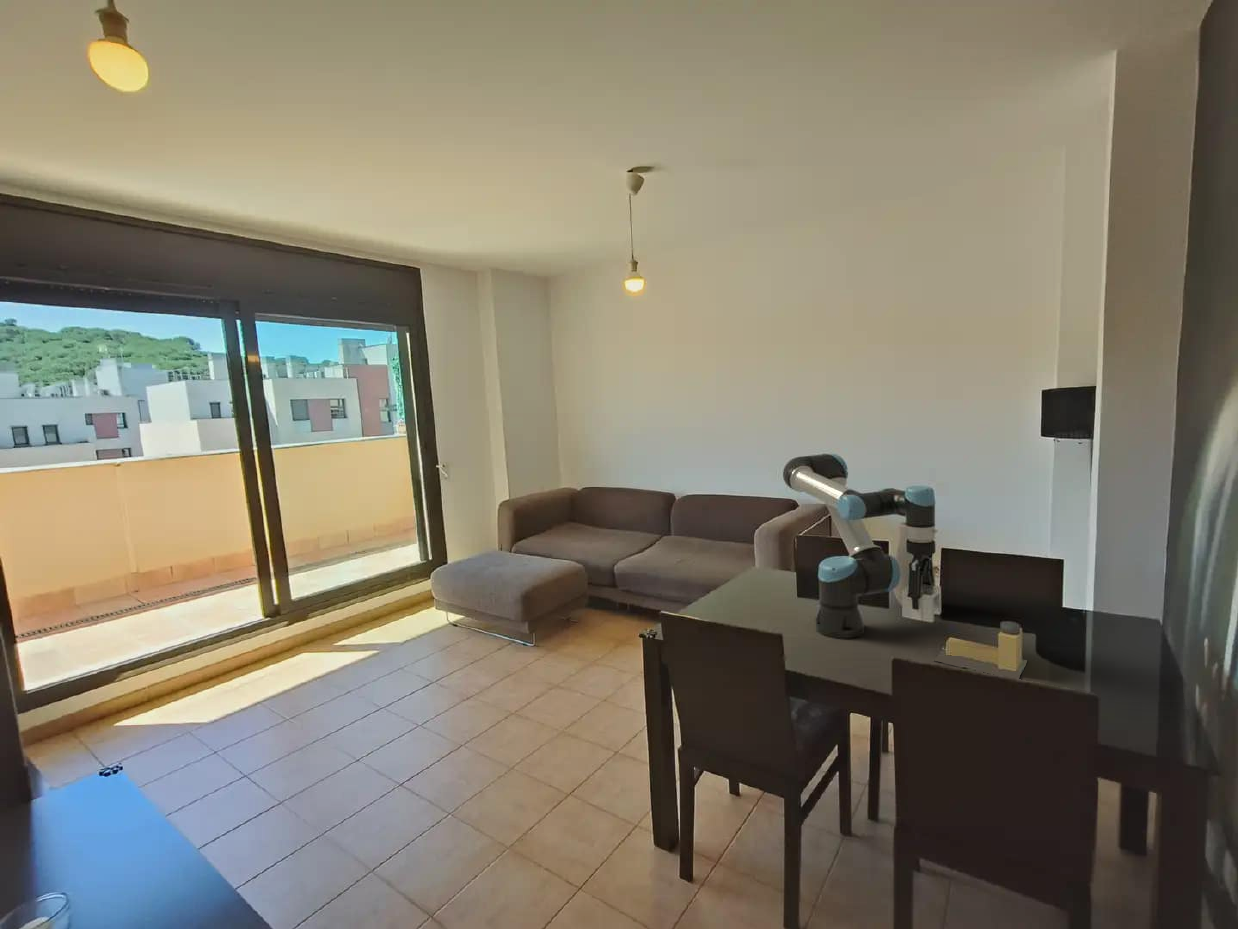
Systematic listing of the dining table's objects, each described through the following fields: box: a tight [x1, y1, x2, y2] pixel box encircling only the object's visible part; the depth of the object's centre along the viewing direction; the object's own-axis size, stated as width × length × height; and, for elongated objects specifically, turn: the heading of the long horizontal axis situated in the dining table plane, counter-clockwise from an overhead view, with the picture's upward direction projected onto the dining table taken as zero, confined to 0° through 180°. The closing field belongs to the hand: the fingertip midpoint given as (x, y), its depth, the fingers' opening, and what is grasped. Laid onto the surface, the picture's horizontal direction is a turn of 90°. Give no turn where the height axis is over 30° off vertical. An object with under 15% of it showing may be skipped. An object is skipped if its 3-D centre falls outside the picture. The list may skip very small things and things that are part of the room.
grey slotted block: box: [901, 584, 942, 623], centre depth 169 cm, size 8×9×8 cm
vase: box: [892, 521, 936, 606], centre depth 200 cm, size 14×14×30 cm
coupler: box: [945, 620, 1023, 671], centre depth 159 cm, size 17×8×12 cm, turn 46°
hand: (921, 613), depth 169 cm, fingers closed on grey slotted block, 9 cm apart
